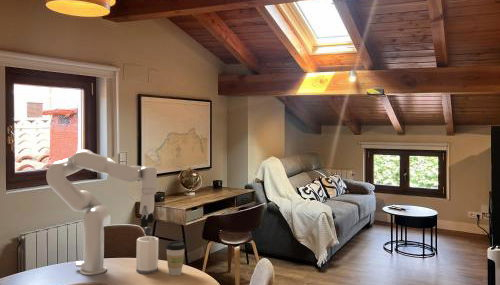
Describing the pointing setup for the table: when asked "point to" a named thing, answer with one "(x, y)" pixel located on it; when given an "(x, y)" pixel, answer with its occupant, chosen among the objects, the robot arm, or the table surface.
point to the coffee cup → (175, 257)
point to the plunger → (147, 231)
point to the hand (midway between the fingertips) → (147, 224)
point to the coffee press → (147, 255)
